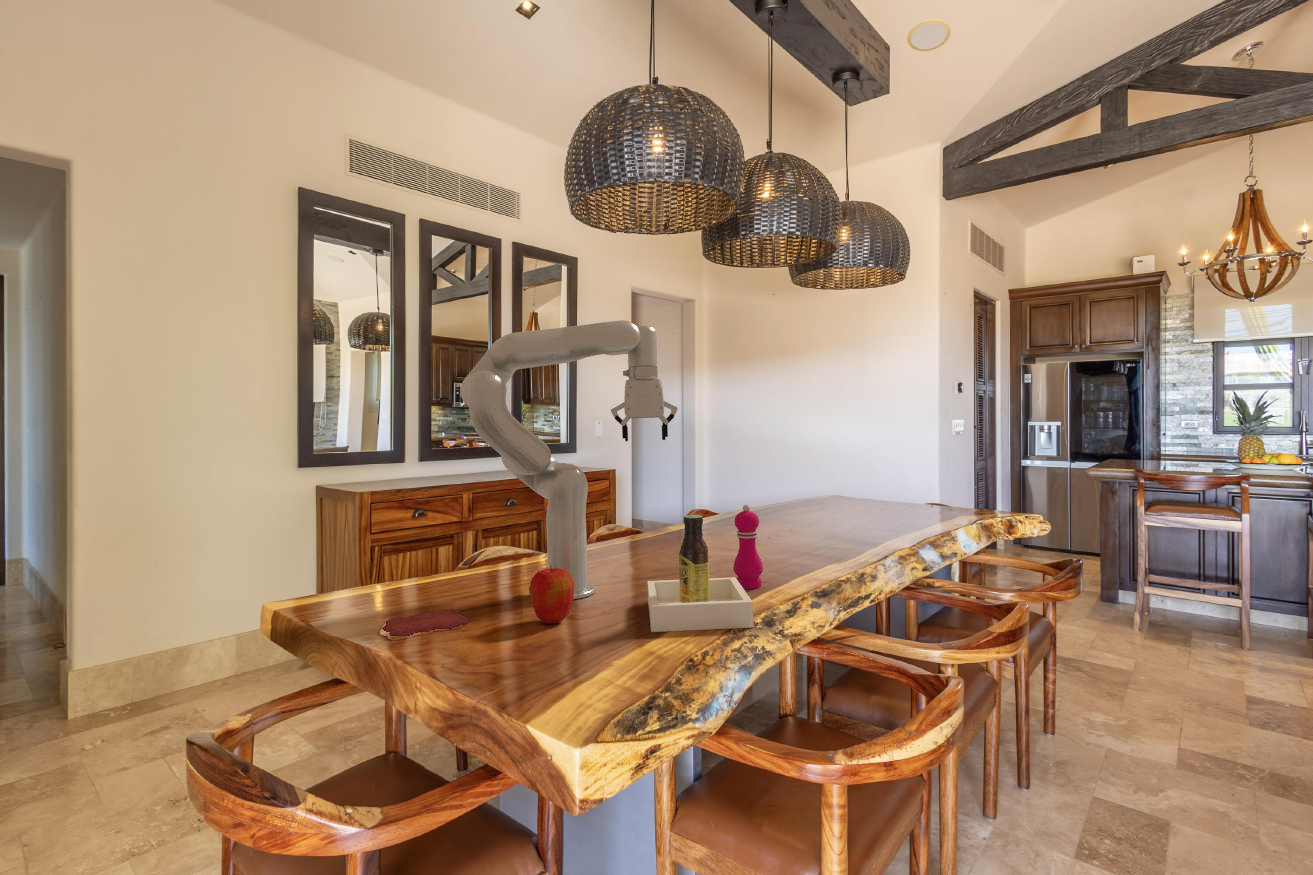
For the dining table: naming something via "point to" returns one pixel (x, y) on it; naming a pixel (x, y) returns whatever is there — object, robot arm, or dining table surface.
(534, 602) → the apple
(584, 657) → the dining table surface
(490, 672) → the dining table surface
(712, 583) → the tray
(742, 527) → the pepper mill
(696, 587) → the sauce bottle
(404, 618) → the patty
